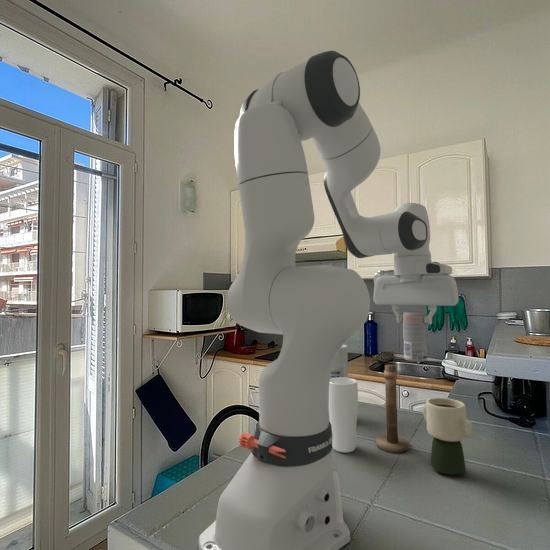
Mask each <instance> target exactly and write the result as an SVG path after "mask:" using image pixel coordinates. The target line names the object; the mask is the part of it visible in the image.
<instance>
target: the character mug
mask: <svg viewBox="0 0 550 550" xmlns="http://www.w3.org/2000/svg"><path fill="white" fill-rule="evenodd" d="M466 406H467V405H466V404H465V403H464V402H463V401H460V400H457V399H453V398H447V397H432V398H427V400H426V401H425V404H423V407H422V408H423V419H424V421H426V430H427V433H428V435H429V436H430V437H432V443H431V452H430V466H431V468H433V470H435V471H437V472H439V473H443V474H447V475H448V474H449V475H458V474H463V473H464V474H465V473H467V468H466V461H465V456H464V455H465V454H464V449H463V444H462V442H461V441H463V440H465V439H466V438H468V439H471V438H472V437H473V423H472V420H471V419H468V417H467V416H468V415H467V407H466Z"/></svg>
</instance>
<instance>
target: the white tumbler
mask: <svg viewBox="0 0 550 550" xmlns="http://www.w3.org/2000/svg"><path fill="white" fill-rule="evenodd" d="M358 405H359V387H358V380H357V379H355V378H352V377H348V378H345V377H336V378H331V379H330V382H329V417H330V420H329V422H330V423H331V426H332V432H333V439H332V450H334V451H336V452H339V453H345V454H346V453H347V454H348V453H351V452H354V451H355V450H356V448H357V441H356V439H357V421H358V408H359V407H358Z"/></svg>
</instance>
